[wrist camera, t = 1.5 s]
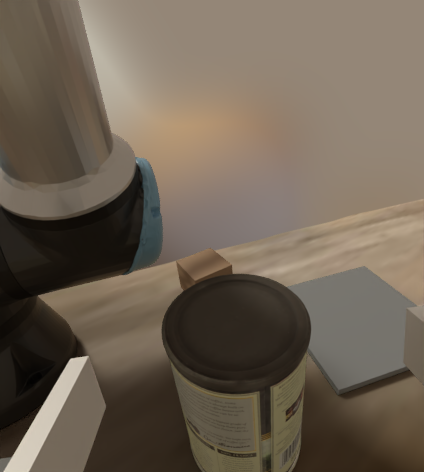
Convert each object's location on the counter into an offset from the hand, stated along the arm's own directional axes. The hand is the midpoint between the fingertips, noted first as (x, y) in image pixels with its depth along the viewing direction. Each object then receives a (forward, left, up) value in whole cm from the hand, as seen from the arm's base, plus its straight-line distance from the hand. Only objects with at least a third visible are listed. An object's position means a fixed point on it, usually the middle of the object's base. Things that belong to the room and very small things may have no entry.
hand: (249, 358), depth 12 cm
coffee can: (-7, +1, -19) cm, 20 cm away
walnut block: (-28, +3, -19) cm, 34 cm away
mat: (-15, +19, -19) cm, 31 cm away
